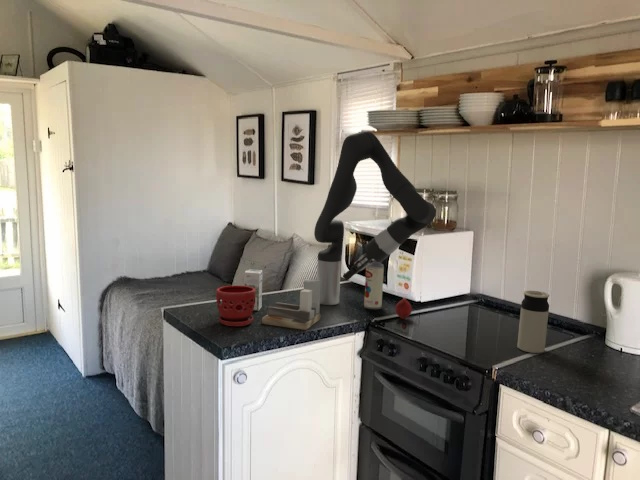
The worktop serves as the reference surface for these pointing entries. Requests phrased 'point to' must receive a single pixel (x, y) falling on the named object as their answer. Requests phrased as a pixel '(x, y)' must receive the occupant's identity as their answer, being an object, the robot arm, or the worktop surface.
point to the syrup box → (255, 285)
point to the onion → (403, 308)
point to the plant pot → (236, 305)
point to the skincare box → (314, 292)
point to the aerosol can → (374, 285)
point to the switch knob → (306, 302)
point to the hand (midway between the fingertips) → (345, 278)
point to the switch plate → (290, 316)
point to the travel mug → (533, 322)
